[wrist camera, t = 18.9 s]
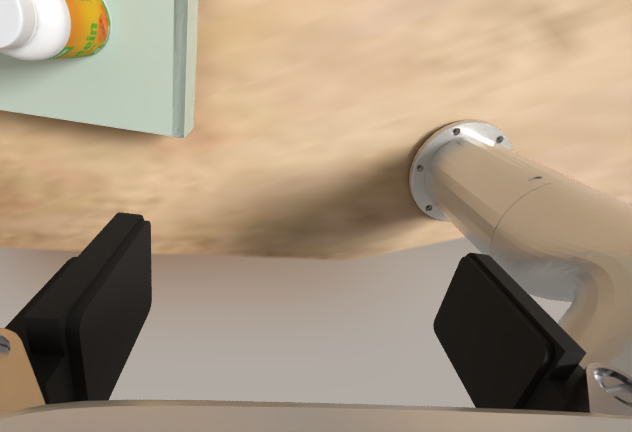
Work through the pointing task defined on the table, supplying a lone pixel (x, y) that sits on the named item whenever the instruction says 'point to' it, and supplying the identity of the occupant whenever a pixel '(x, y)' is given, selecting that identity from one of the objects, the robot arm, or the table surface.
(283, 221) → the table surface
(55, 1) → the supplement bottle
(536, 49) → the table surface
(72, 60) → the lid
